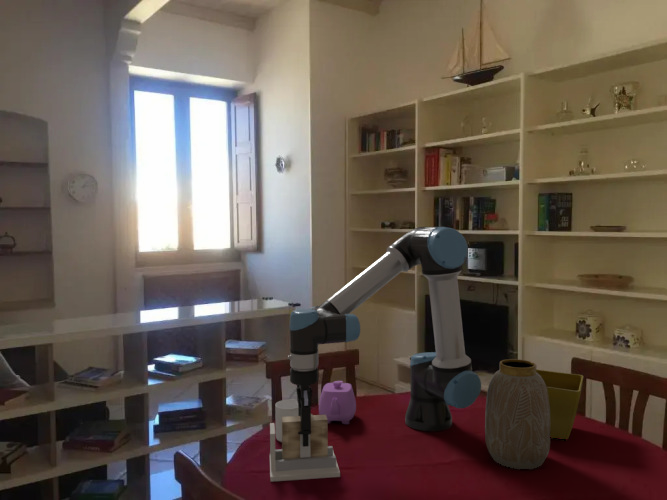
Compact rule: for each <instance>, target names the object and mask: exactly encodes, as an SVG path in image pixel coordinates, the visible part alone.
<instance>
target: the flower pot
mask: <svg viewBox="0 0 667 500" xmlns="http://www.w3.org/2000/svg"><path fill="white" fill-rule="evenodd" d="M536 372H537V373H538V374H539V375H540V376H541V377H542V379H543V380H544V382H545V384H546V387H547V390H548V396H549V403H550V418H551V437H552V438H551V439H553V438H561V439H568V440H569V437H570V435H571V432H572V429H573V426H574V423H575V419H576V415H577V411H578V407H579V402H580V399H581V393H582V388H583V383H584V375H583V374H576V373H568V372H560V371H559V372H558V371H552V370H544V369H536Z"/></svg>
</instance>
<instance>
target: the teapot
mask: <svg viewBox="0 0 667 500" xmlns="http://www.w3.org/2000/svg"><path fill="white" fill-rule="evenodd" d="M356 402H357V401H356V397H355V394H354V390H353V386H352V384H351V383H348V382H344V381H343V380H335V381H333V382H327V383H325V384H324V385H323V387H322V390H321V394H320V396H319V401H318V415H326V417H327V420H328V424H331V423H332V422H341V424H343V425H349V424H350V423H351V422H350V421H351V420H352V419H353V418H354V416H355V414H356V411H357V403H356Z"/></svg>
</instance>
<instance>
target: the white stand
mask: <svg viewBox="0 0 667 500" xmlns="http://www.w3.org/2000/svg"><path fill="white" fill-rule="evenodd" d="M269 446H270V451H269V478H270V483H271V482H272V483H273V482H284V481H285V482H286V481H299V480H311V479H312V480H313V479H326V478H340V477H341V472H340V468H339V465H338V462H337V461H338V460H337V457H336V455H335V453H334V448H333V445H328V456H326V457H310V458H294V459H283V455H282V448H281V449H277V448H276V424H275V422H270V423H269Z"/></svg>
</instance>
